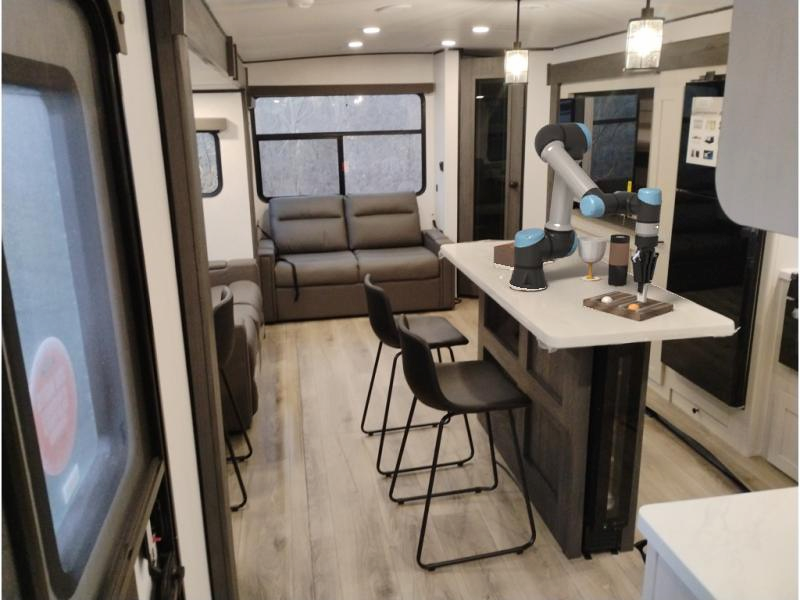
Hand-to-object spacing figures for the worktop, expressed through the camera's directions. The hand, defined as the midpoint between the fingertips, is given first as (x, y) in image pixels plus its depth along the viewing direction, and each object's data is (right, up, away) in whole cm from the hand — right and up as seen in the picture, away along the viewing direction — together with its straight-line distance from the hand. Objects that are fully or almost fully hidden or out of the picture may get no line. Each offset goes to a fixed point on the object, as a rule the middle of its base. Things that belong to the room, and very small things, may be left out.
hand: (641, 301), depth 227 cm
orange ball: (-3, -3, -2) cm, 5 cm away
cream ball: (-10, 0, +8) cm, 13 cm away
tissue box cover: (-27, +16, +77) cm, 84 cm away
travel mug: (+5, +7, +39) cm, 40 cm away
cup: (-4, +9, +49) cm, 50 cm away
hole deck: (-3, -3, +6) cm, 7 cm away
